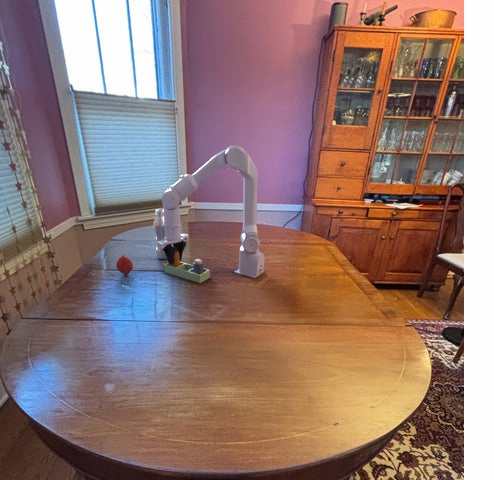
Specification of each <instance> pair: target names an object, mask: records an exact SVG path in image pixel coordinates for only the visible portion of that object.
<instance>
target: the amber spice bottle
mask: <svg viewBox="0 0 494 480" xmlns="http://www.w3.org/2000/svg"><path fill="white" fill-rule="evenodd" d="M180 262H181V261H180V259H179V251H178V249H177V248H176V249H175V254H174V264H170V266H173V267H178V266H180Z"/></svg>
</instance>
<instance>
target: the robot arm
mask: <svg viewBox="0 0 494 480" xmlns="http://www.w3.org/2000/svg"><path fill="white" fill-rule="evenodd" d="M227 165H228V167H230V168H231V169H233V170H236V171H237V172H238V173H239V174H240V175H241V176H242V177H243V198H242V199H243V206H242V208H243V209H242V211H243V212H242V213H243V214H242V215H243V223H242V231H241V234H240V236H239V237H240V238H239V240H240V243H241V246H240V248H239V252H238V253H239V255H238V256H239V257H238V268H237V269H236V270H234V271H233V273H235V274H239V275H243V276H247V277H249V278H250V277H251V278H253V279H254V278H258V277H259V276H260V275H261V274H263V273H265V260H266V259H265V258H266V257H265V254H264V253H263V252H261V251H260V250H259V249H260V245H261V241H260V239H259V236H258V227H257V225H258V223H257V221H258V219H257V218H258V216H257V215H258V181H259V171H258V168H257V166H256V165H255V163H254V161H253V160H252V158H251V156H250V154H249V152H248V151H246V150H245V149H244V148H243V147H241V146H239V145H236V144H232V145H229V146H227V147H226V149H223V150H221V151H219V152H218V153H216V154H215V155H214V156H212V157H211V158H210V159H209V160H207V162H205V163H204V165H202V166H201V167H200V168H199V169H198V170H196V171H195V172H194V173H193V174H190V173H186V174H182V175H180V177H179V178H180V179H178V181H176V182H175V183H174V184H171V185H169V189H166V190H165V191H164V193H163V194H162V196H161V203H162V209H164V225H165V237H164V239H163V240H162V241H160V242H158V248H161V249H163V251H164V252H165V254H166V257H167V259H166V260H167V263H168V262H169V264H174V254H175V249H176V248H177V249H178V251H179V259H180V262H182V260H183V254H184V250H185V248H186V246H187V241H188V240H189V234H188V233H182V225H181V222H182V221H181V212H180V202H183V201H185V200H186V199H188V197H190V196H191V195H192V194H193V193H195V192H196V191H197V190H198V188H199V183H201V182H202V181H203V180H205V179H207V177H209V176H210V175H211V174H213V173H214V172H215V171H217V170H220V169H221V170H222V169H227ZM185 240H186V241H185Z"/></svg>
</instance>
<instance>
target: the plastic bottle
mask: <svg viewBox="0 0 494 480" xmlns="http://www.w3.org/2000/svg"><path fill="white" fill-rule="evenodd" d="M155 216H156V217H155V218H154V220H153V228H154V233H155V240H156V248H155V254H156V258H158V259H160V260H168V259H167V257H166V254H165V252H164V251H163V249H161V248H158V242H160V241H162V240H163V239H164V237H165V225H164V209H163V208H159V209H158V208H157V209H155Z"/></svg>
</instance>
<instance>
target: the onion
mask: <svg viewBox="0 0 494 480" xmlns="http://www.w3.org/2000/svg"><path fill="white" fill-rule="evenodd" d="M115 266H116V269H117V271H118V272H119V273H121V274H123V275H125V276H128V275H129V274H130V273H131V271H132V270H133V268H134V265H133V262H132V260H131V259H130V258H128V257H127V256H126V255H125V254H122V255H121V256H120V257H119V258H118V259H117V262H116V265H115Z"/></svg>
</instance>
